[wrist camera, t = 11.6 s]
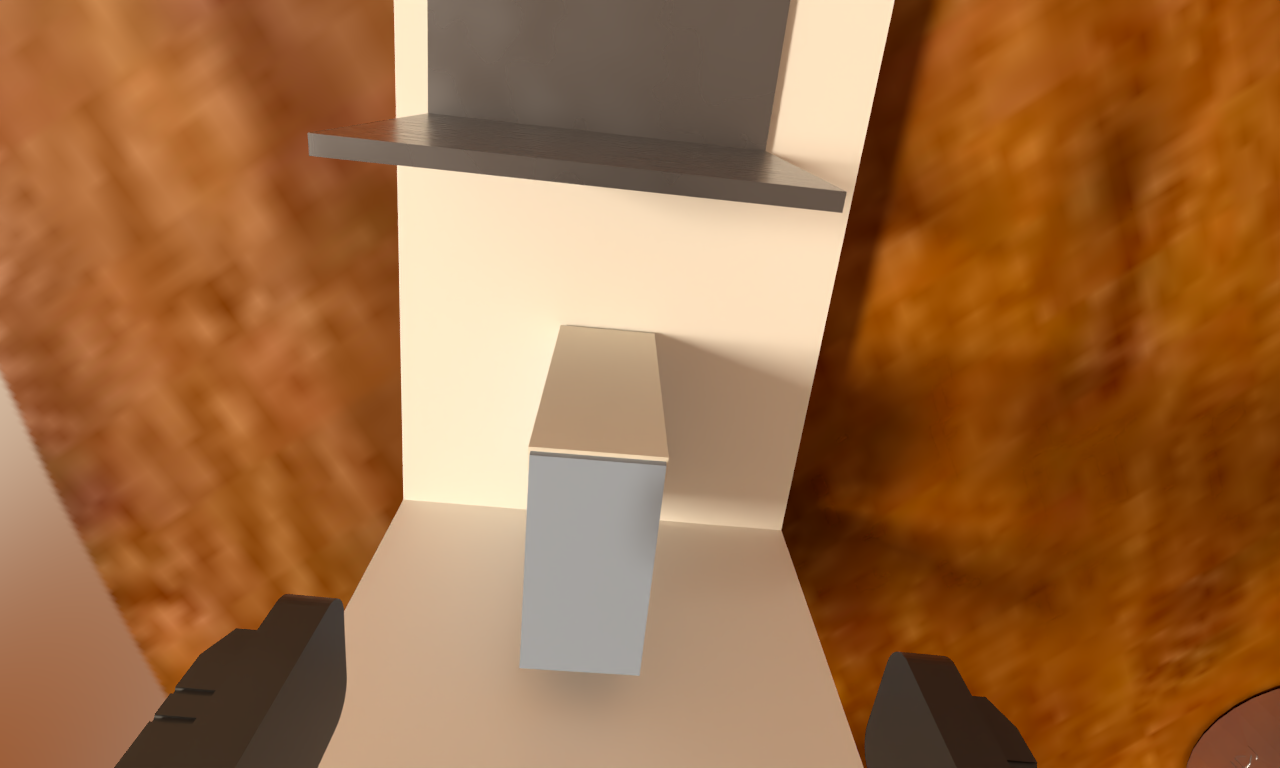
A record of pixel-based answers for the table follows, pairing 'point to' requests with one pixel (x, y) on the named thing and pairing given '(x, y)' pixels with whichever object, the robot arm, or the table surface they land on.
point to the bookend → (600, 99)
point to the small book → (593, 503)
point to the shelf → (695, 429)
